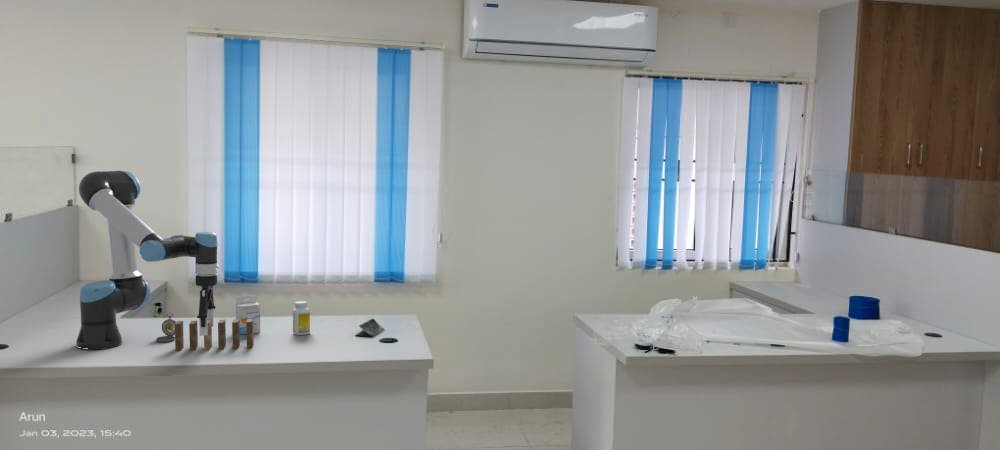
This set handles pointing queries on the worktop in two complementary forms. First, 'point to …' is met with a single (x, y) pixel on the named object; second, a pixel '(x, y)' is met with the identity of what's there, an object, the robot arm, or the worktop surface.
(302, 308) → the supplement bottle
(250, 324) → the domino
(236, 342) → the domino
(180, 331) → the domino
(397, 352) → the worktop surface
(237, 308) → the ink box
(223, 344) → the domino
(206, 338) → the tile
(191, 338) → the domino
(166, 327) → the pocket watch
